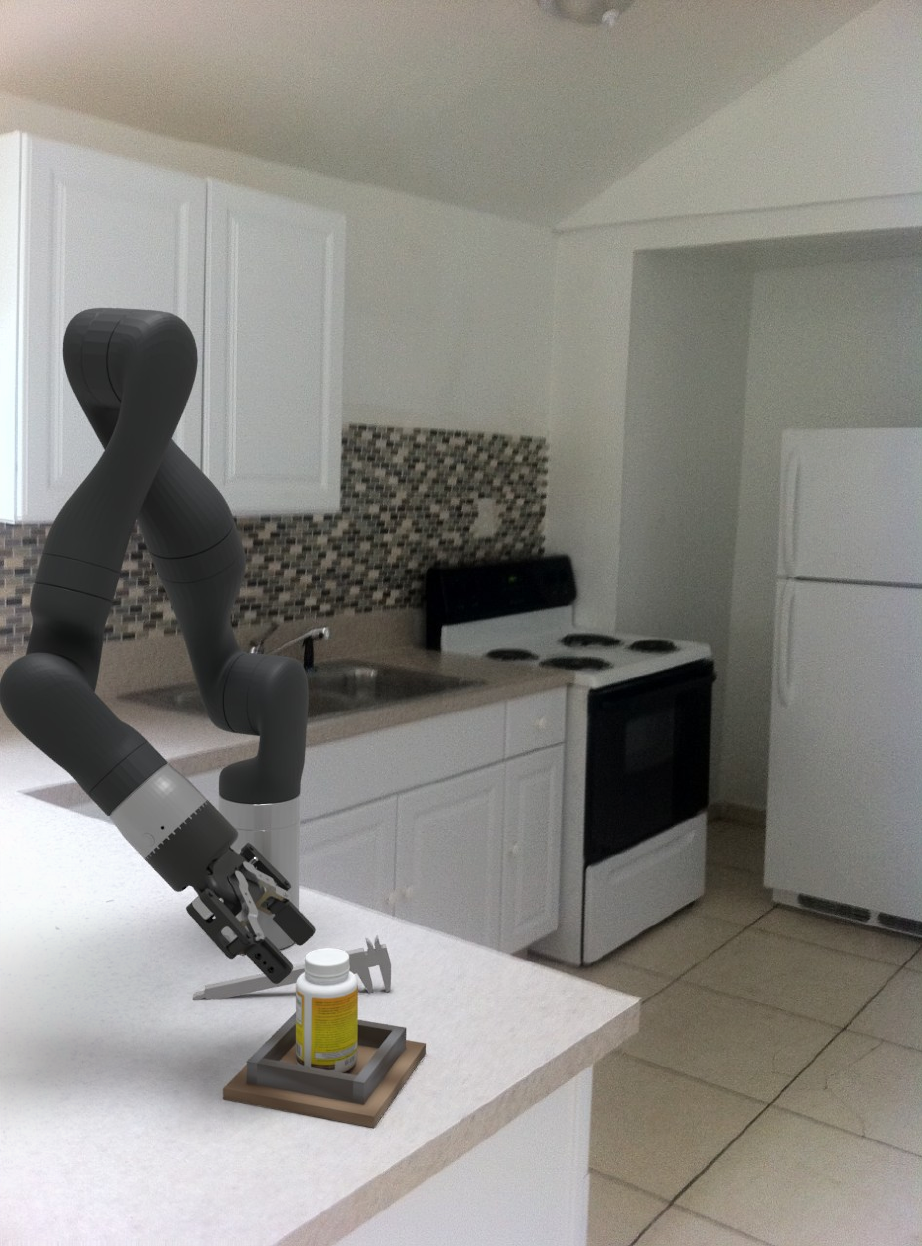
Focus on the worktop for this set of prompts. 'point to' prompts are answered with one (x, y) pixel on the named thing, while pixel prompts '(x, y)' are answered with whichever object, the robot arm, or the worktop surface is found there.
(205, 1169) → the worktop surface
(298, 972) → the caliper
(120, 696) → the worktop surface
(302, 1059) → the supplement bottle
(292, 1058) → the collar base
